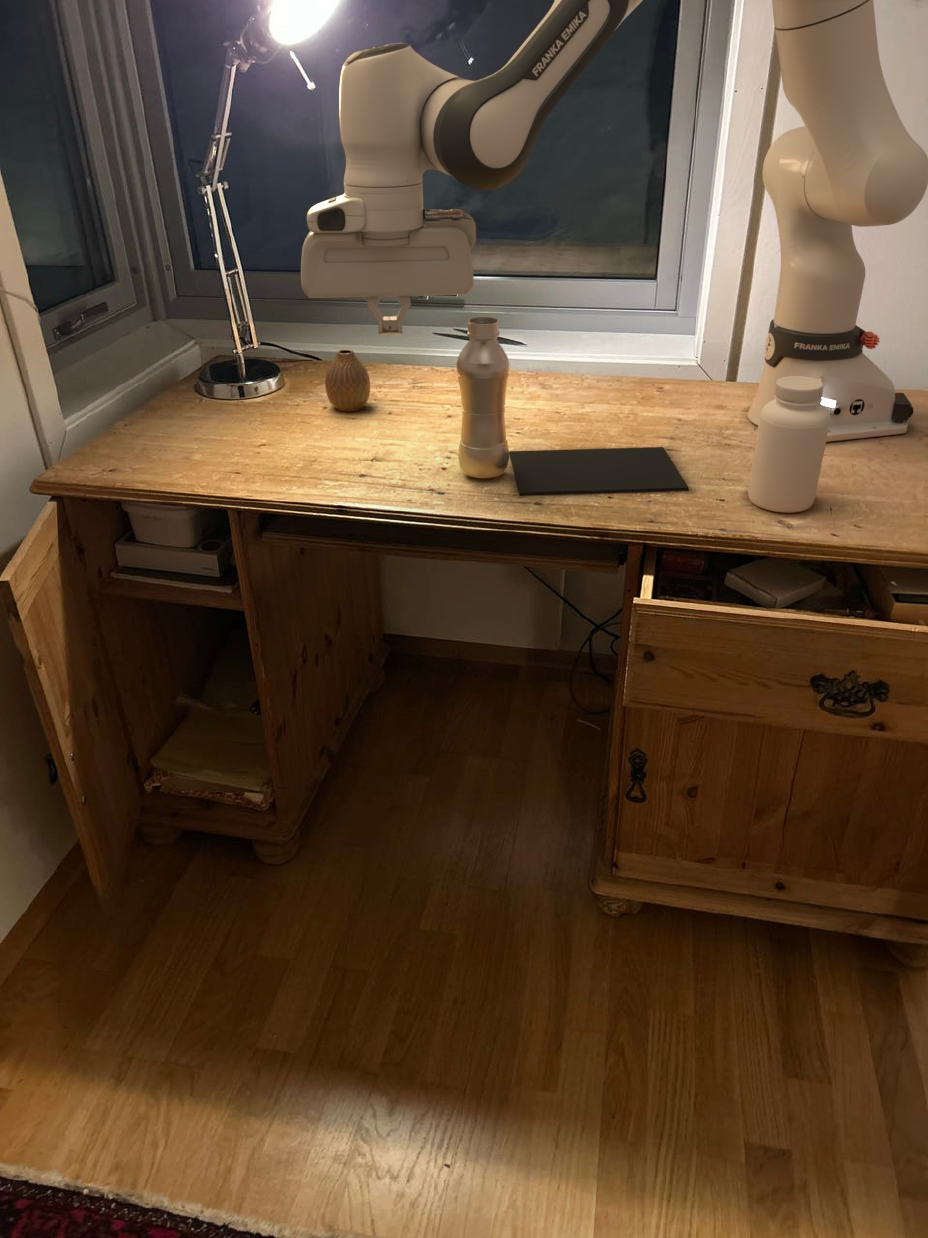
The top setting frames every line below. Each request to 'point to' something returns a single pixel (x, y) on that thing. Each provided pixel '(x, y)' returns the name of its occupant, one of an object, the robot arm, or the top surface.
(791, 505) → the pill bottle
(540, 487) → the mat
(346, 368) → the vase
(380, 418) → the top surface
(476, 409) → the plastic bottle
